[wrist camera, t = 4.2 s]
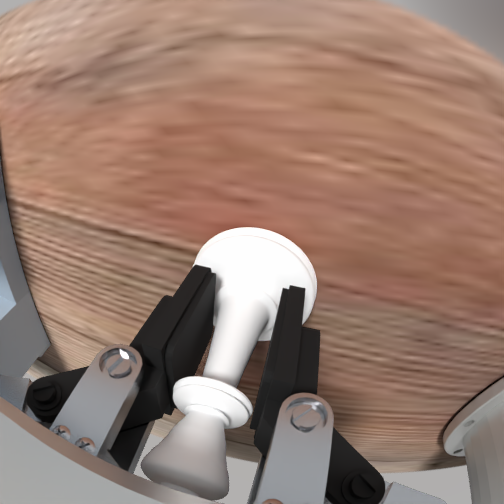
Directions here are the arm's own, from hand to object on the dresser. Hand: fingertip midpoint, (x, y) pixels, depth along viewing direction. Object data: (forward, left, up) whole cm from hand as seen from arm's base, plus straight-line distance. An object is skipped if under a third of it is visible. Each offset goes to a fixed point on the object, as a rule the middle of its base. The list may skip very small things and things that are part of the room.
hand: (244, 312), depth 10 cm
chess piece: (0, 0, -2) cm, 2 cm away
